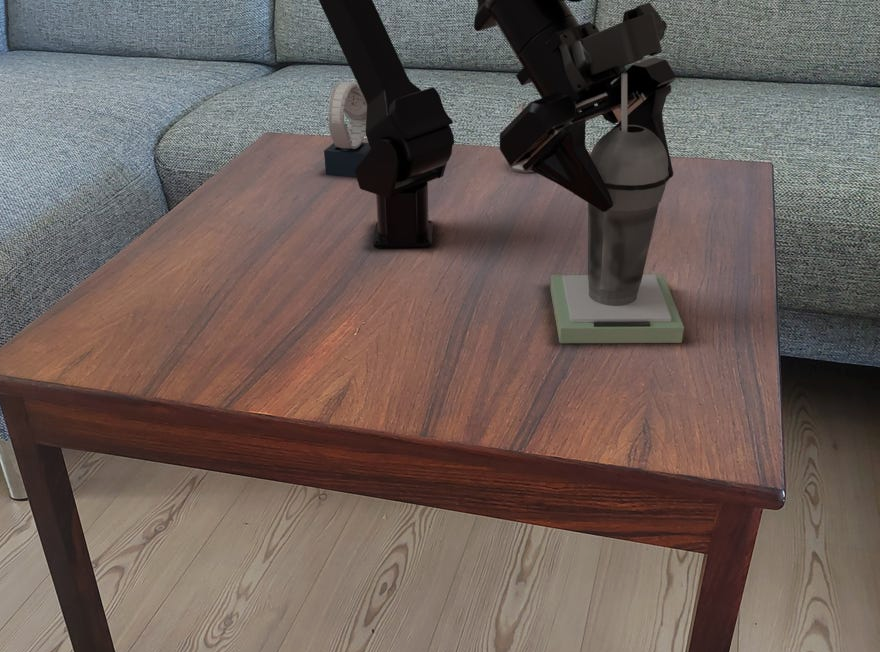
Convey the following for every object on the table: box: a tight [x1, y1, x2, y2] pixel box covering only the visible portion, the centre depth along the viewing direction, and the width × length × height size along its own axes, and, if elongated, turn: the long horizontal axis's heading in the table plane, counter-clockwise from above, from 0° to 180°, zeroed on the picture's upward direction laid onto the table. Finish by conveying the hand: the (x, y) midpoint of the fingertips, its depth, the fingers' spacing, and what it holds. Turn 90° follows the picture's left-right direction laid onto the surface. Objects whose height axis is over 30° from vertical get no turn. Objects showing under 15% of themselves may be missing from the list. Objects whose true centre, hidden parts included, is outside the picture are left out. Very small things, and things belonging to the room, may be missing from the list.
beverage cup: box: [587, 73, 670, 306], centre depth 82 cm, size 7×7×20 cm
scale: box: [549, 273, 685, 344], centre depth 88 cm, size 11×11×2 cm
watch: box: [323, 81, 371, 178], centre depth 120 cm, size 6×8×11 cm
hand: (639, 193), depth 81 cm, fingers open, 9 cm apart
